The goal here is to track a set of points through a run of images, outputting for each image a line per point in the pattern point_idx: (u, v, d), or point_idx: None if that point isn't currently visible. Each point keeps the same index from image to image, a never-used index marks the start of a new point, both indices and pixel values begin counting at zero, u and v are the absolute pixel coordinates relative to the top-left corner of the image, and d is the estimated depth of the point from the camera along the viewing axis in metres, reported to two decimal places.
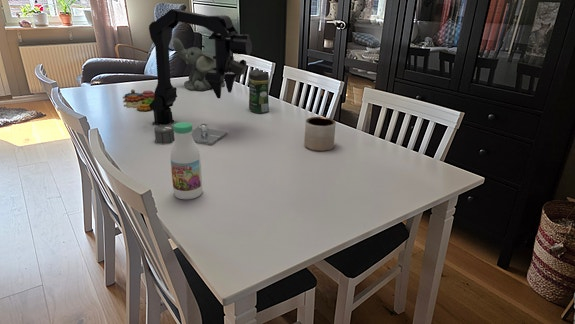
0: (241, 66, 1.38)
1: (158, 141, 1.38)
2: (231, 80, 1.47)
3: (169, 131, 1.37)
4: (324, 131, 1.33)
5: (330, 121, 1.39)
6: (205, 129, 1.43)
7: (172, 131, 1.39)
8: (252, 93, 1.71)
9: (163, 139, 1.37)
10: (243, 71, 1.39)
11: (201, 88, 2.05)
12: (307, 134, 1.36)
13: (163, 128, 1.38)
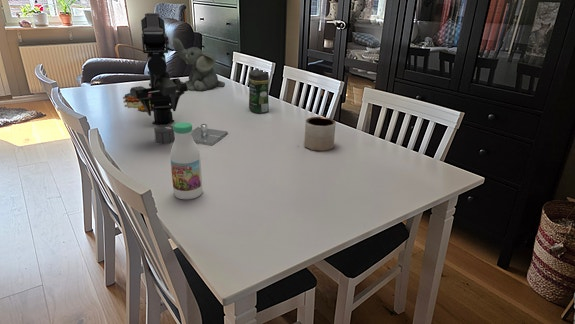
0: (167, 85, 1.26)
1: (158, 141, 1.38)
2: (174, 98, 1.37)
3: (169, 131, 1.37)
4: (324, 131, 1.33)
5: (330, 121, 1.39)
6: (205, 129, 1.43)
7: (172, 131, 1.39)
8: (252, 93, 1.71)
9: (163, 139, 1.37)
10: (170, 91, 1.27)
11: (201, 88, 2.05)
12: (307, 134, 1.36)
13: (163, 128, 1.38)
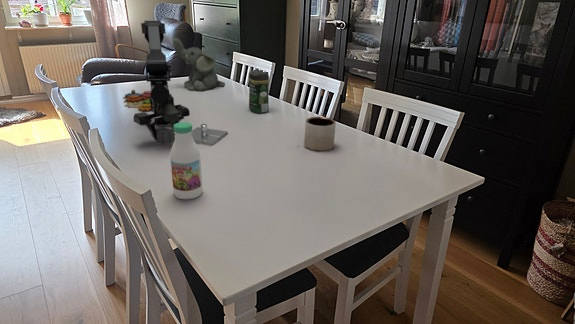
0: (169, 112, 1.30)
1: (158, 141, 1.38)
2: (174, 123, 1.40)
3: (169, 131, 1.37)
4: (324, 131, 1.33)
5: (330, 121, 1.39)
6: (205, 129, 1.43)
7: (172, 131, 1.39)
8: (252, 93, 1.71)
9: (163, 139, 1.37)
10: (172, 117, 1.31)
11: (201, 88, 2.05)
12: (307, 134, 1.36)
13: (163, 128, 1.38)
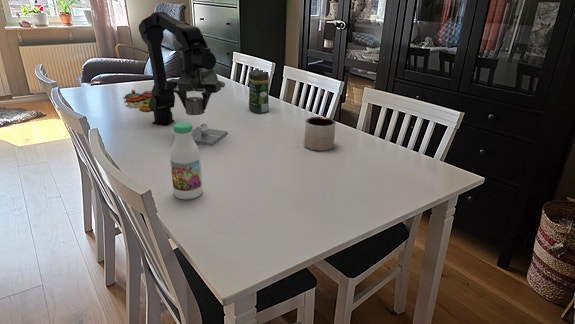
0: (181, 81, 1.28)
1: None
2: None
3: (192, 103, 1.35)
4: (324, 131, 1.33)
5: (330, 121, 1.39)
6: (205, 129, 1.43)
7: (196, 104, 1.36)
8: (252, 93, 1.71)
9: (186, 109, 1.37)
10: (183, 87, 1.28)
11: None
12: (307, 134, 1.36)
13: (192, 99, 1.37)
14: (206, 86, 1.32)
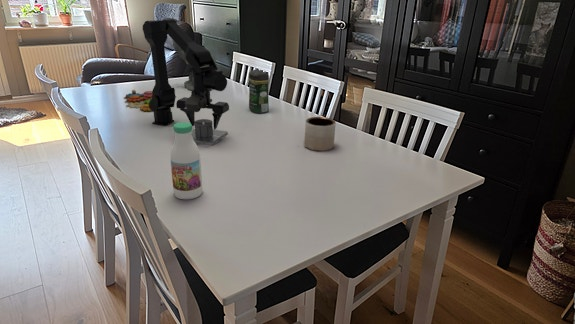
0: (189, 102, 1.32)
1: None
2: None
3: (200, 126, 1.40)
4: (324, 131, 1.33)
5: (330, 121, 1.39)
6: None
7: (204, 127, 1.40)
8: (252, 93, 1.71)
9: (195, 132, 1.42)
10: (190, 108, 1.33)
11: None
12: (307, 134, 1.36)
13: (201, 122, 1.42)
14: (213, 106, 1.36)
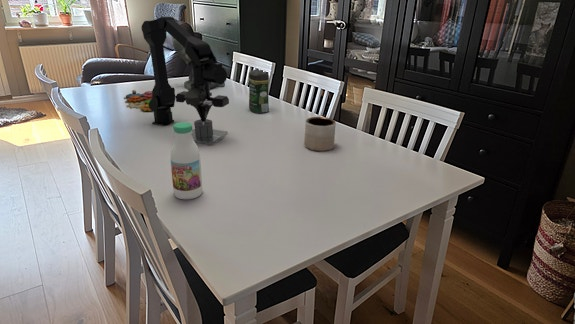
0: (188, 95, 1.32)
1: None
2: None
3: (200, 126, 1.40)
4: (324, 131, 1.33)
5: (330, 121, 1.39)
6: None
7: (204, 127, 1.40)
8: (252, 93, 1.71)
9: (195, 132, 1.42)
10: (190, 101, 1.32)
11: None
12: (307, 134, 1.36)
13: (201, 122, 1.42)
14: (213, 100, 1.35)
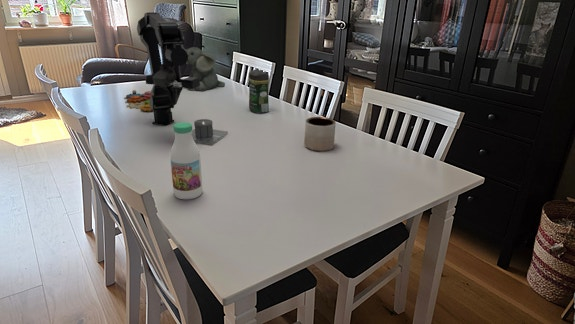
0: (157, 76, 1.28)
1: None
2: None
3: (200, 126, 1.40)
4: (324, 131, 1.33)
5: (330, 121, 1.39)
6: None
7: (204, 127, 1.40)
8: (252, 93, 1.71)
9: (195, 132, 1.42)
10: (158, 82, 1.28)
11: (201, 88, 2.05)
12: (307, 134, 1.36)
13: (201, 122, 1.42)
14: (183, 81, 1.32)
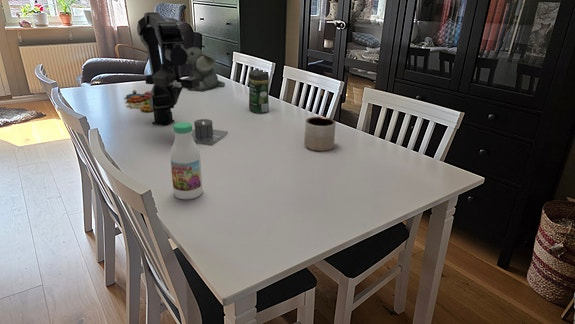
0: (156, 76, 1.28)
1: None
2: None
3: (200, 126, 1.40)
4: (324, 131, 1.33)
5: (330, 121, 1.39)
6: None
7: (204, 127, 1.40)
8: (252, 93, 1.71)
9: (195, 132, 1.42)
10: (158, 82, 1.28)
11: (201, 88, 2.05)
12: (307, 134, 1.36)
13: (201, 122, 1.42)
14: (182, 81, 1.32)
